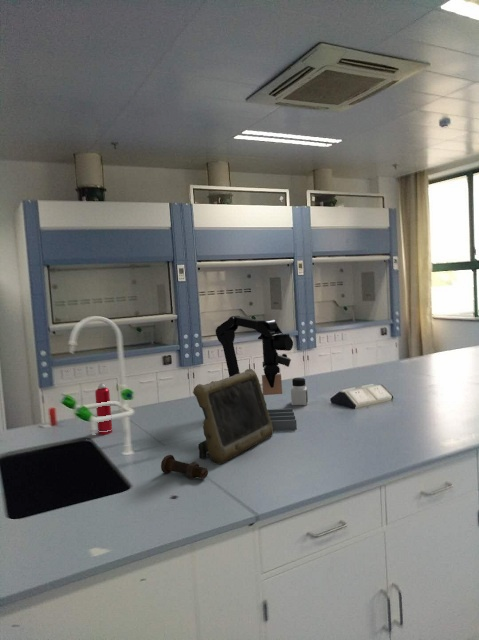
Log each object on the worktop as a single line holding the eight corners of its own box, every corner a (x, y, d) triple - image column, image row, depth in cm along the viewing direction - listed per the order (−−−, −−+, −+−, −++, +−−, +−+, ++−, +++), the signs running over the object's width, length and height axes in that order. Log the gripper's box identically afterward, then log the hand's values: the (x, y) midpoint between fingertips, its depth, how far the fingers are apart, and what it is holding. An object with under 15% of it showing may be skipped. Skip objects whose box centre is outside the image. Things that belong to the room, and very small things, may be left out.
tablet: (228, 467, 139) (223, 388, 138) (193, 460, 146) (188, 385, 145) (275, 435, 167) (272, 369, 165) (244, 430, 174) (240, 367, 172)
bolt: (204, 487, 130) (165, 476, 138) (212, 473, 134) (174, 463, 141) (198, 474, 127) (158, 464, 135) (206, 460, 131) (167, 451, 139)
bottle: (108, 429, 185) (104, 381, 184) (114, 431, 181) (111, 383, 180) (95, 432, 181) (92, 384, 180) (102, 435, 178) (98, 385, 176)
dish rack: (260, 430, 173) (259, 421, 172) (259, 418, 189) (259, 409, 189) (296, 429, 172) (296, 420, 172) (293, 416, 189) (292, 408, 189)
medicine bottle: (307, 405, 206) (305, 379, 205) (291, 405, 207) (290, 379, 207) (307, 401, 213) (306, 376, 212) (292, 401, 214) (291, 376, 214)
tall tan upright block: (263, 395, 187) (261, 376, 186) (262, 393, 190) (261, 374, 189) (282, 393, 187) (281, 375, 186) (281, 392, 190) (280, 373, 189)
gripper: (291, 351, 178) (293, 390, 179) (286, 346, 196) (288, 381, 197) (263, 353, 178) (265, 392, 179) (261, 347, 196) (263, 382, 197)
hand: (271, 386), depth 188 cm, fingers closed on tall tan upright block, 3 cm apart
